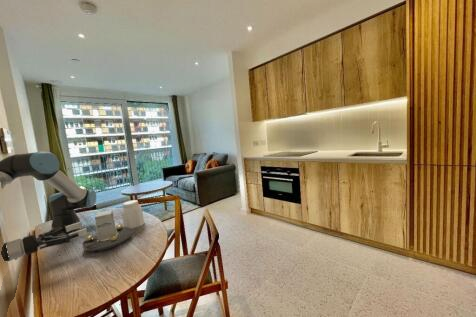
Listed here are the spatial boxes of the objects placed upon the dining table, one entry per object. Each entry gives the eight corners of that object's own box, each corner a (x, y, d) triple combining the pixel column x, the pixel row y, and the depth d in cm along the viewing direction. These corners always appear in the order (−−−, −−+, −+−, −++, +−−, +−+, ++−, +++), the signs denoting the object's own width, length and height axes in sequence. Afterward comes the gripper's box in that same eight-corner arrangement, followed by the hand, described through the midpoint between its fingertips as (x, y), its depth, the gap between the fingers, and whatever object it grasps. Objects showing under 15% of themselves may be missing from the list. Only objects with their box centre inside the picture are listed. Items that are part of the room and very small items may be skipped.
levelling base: (91, 238, 118) (90, 229, 118) (134, 229, 125) (133, 220, 125) (76, 259, 98) (74, 248, 97) (128, 246, 105) (127, 236, 104)
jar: (124, 230, 125) (120, 206, 123) (123, 225, 133) (119, 202, 131) (145, 224, 131) (141, 201, 129) (143, 220, 139) (139, 198, 137)
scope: (76, 210, 128) (74, 214, 120) (81, 231, 130) (79, 237, 122) (59, 214, 124) (56, 219, 116) (64, 236, 126) (61, 242, 117)
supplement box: (98, 241, 106) (93, 217, 105) (101, 235, 113) (96, 212, 111) (115, 236, 109) (110, 213, 108) (116, 231, 116) (112, 209, 114)
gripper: (26, 245, 99) (81, 228, 113) (24, 266, 81) (90, 242, 95) (22, 230, 98) (78, 215, 112) (20, 247, 80) (87, 226, 95)
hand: (84, 227), depth 104 cm, fingers open, 13 cm apart
